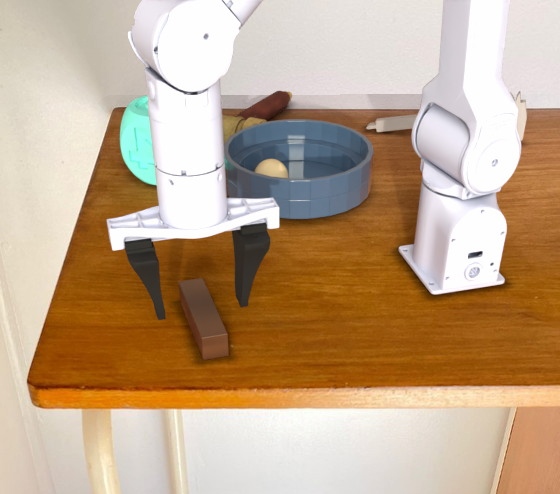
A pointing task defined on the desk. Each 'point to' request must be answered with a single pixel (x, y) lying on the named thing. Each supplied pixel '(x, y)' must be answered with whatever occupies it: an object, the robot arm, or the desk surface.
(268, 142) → the bowl
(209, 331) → the rectangular block
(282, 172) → the dough ball
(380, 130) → the caliper
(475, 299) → the desk surface
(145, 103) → the decorative dice
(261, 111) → the gavel
